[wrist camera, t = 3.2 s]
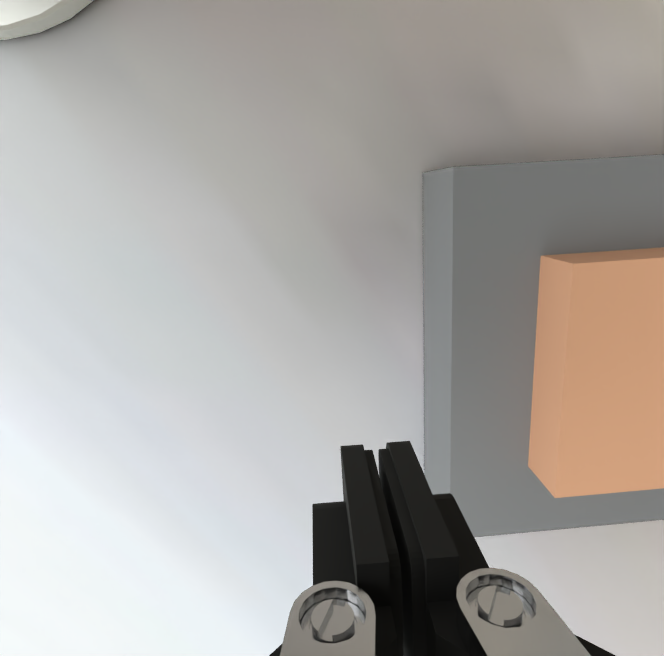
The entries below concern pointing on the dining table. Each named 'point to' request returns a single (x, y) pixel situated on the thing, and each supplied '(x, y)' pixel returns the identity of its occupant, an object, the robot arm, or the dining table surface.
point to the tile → (599, 373)
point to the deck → (515, 324)
